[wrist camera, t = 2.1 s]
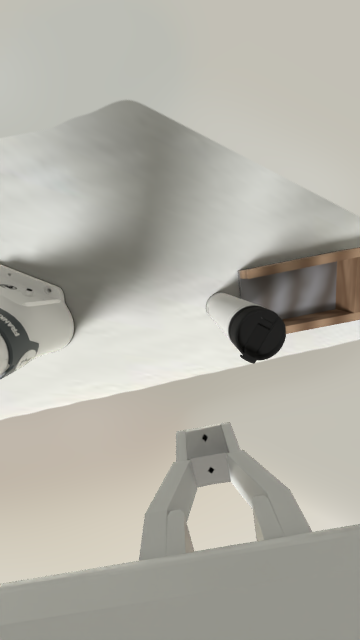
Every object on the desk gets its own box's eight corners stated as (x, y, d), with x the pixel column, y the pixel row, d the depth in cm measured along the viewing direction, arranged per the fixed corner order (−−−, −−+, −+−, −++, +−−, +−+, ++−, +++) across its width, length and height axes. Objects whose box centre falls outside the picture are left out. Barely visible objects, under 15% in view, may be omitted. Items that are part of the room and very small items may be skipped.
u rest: (244, 331, 41) (254, 339, 36) (237, 270, 37) (247, 270, 32) (338, 313, 40) (361, 319, 35) (340, 250, 37) (367, 246, 32)
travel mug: (200, 313, 39) (224, 351, 20) (214, 287, 38) (255, 300, 19) (223, 325, 40) (269, 372, 21) (238, 300, 39) (302, 325, 19)
